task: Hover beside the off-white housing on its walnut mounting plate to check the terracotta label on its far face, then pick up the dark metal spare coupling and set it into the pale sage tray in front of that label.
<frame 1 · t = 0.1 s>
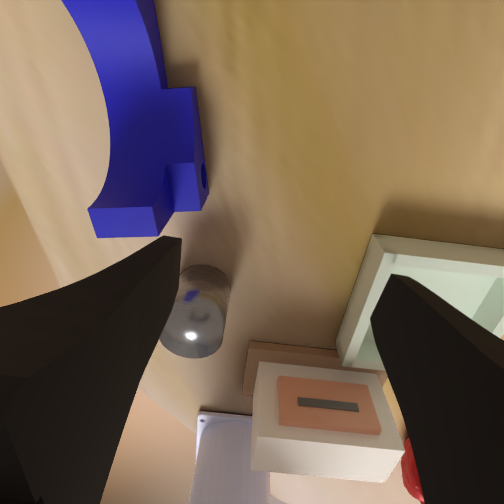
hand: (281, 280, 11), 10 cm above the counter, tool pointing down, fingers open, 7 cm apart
blue cradle block: (156, 88, 17), on the counter
parts tray: (417, 300, 23), on the counter
mounted housing: (313, 372, 28), on the counter
spare coupling: (204, 287, 23), on the counter
pomegranate: (439, 436, 32), on the counter
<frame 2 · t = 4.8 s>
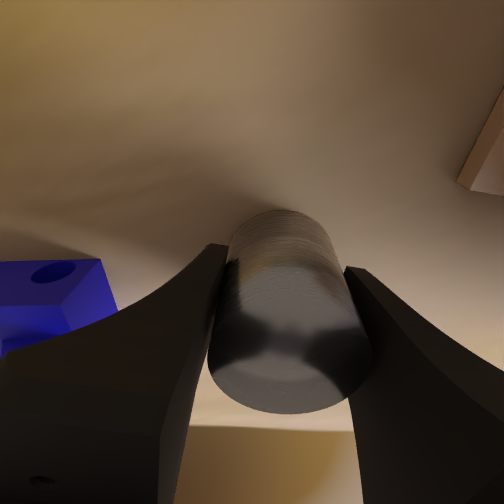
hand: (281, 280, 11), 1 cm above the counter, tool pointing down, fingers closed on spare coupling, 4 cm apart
spare coupling: (280, 258, 12), on the counter, touching gripper
when the fingers open (3 cm above the counter, at t = 9.4 s): spare coupling stays where it is, resting on parts tray.
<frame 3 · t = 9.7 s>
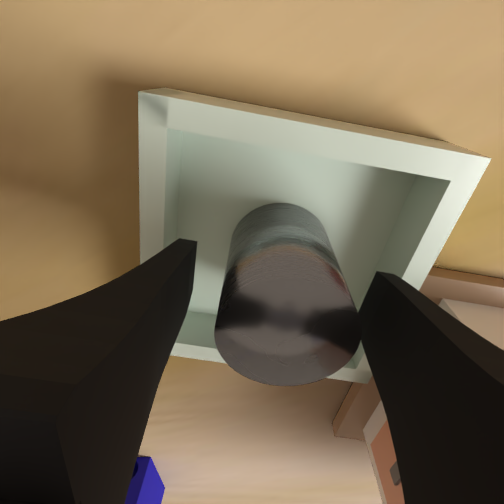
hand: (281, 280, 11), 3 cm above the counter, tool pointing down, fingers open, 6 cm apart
blue cradle block: (84, 468, 24), on the counter
parts tray: (278, 241, 13), on the counter
mounted housing: (419, 366, 17), on the counter
spare coupling: (278, 248, 13), point 1 cm above the counter, touching parts tray
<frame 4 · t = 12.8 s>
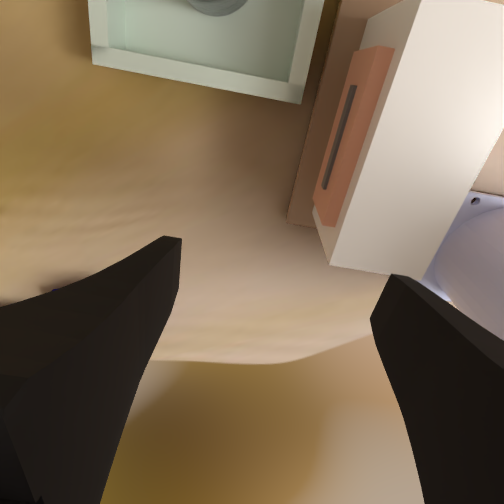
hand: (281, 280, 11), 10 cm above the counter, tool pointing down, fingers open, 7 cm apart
mounted housing: (360, 132, 18), on the counter
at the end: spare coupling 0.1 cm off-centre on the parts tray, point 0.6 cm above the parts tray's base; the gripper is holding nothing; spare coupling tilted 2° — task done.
